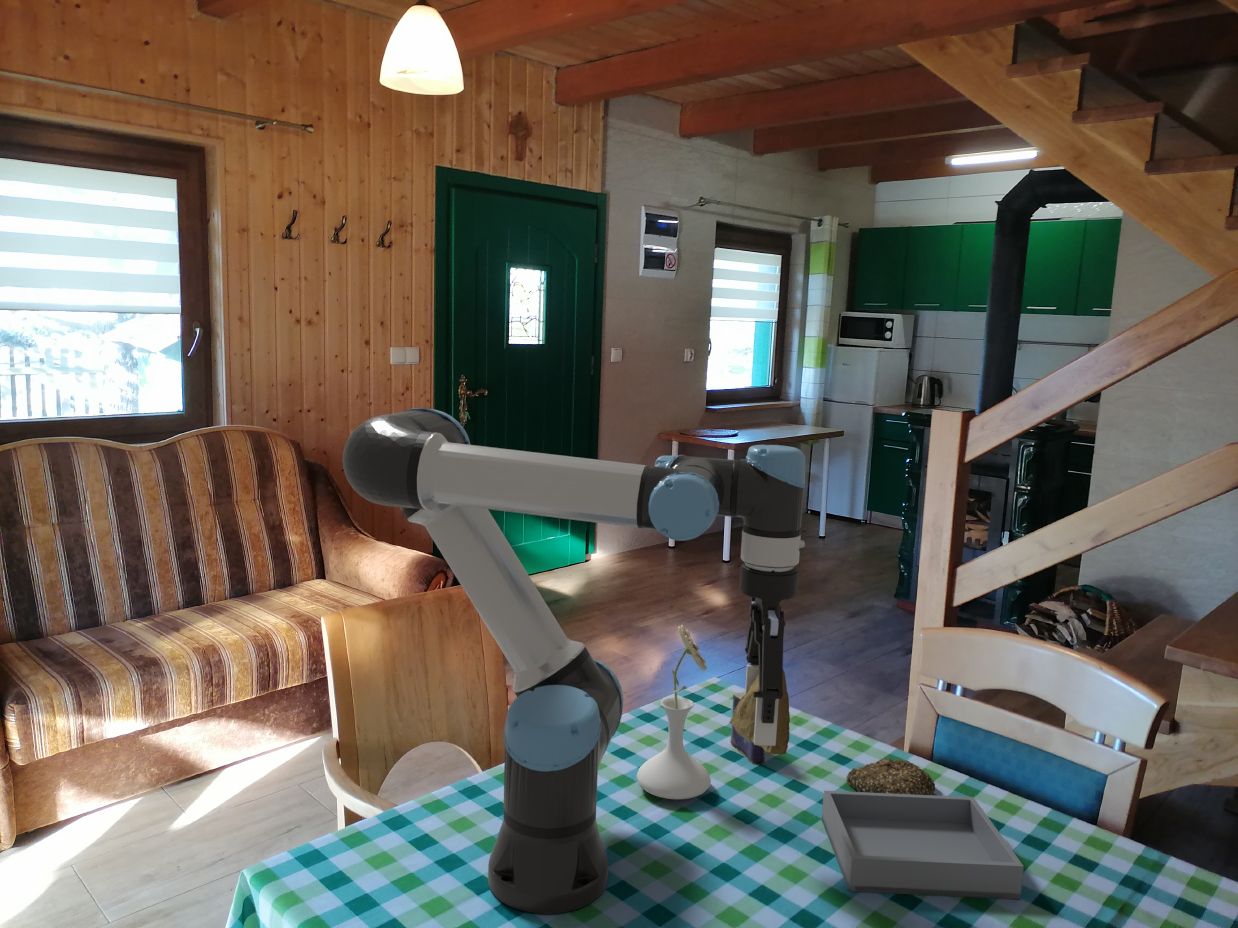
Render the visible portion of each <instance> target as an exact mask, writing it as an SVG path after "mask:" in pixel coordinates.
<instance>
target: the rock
mask: <svg viewBox="0 0 1238 928" xmlns="http://www.w3.org/2000/svg"><path fill="white" fill-rule="evenodd" d="M785 674H786V673H785V670H784V669H783V681H782V692H783V696H782V699H779V703H778V717H777V732H776V746H768V745H757V746H760V747H762V748H763V749H764V752H766V753H768V754H770V755H779V756H781V755H783V756H785V755H786V754H787V750H788V748H789V741H790V722H791V717H790V705H789V704H790V703H789V701H790V698H789V693H788V687H787V681H786V675H785ZM772 689H774V688H772ZM758 691H759V675H758V676H757V677H756V678H755V680H754V681H753V683H752V684H751V686H750V687H749V689H748V691H747V693H746V694H745V693H744V694H745V695H744V696H743V697H742V698H741V700H740V701H739V703H738V705H737V707H736V708H735V710H734V713H733V712H732V715H733V717H731V719H730V721H728V723H729V724H730V725H732V724H733V726H734V727H735V730H736V731H737V733H738V734H740V735H741V736H743V737H744V738H746V739H747V740H749V741H751V742H753V743H754V729H755V713H756V697H753V693H754V692H758Z"/></svg>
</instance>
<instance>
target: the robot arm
mask: <svg viewBox="0 0 1238 928" xmlns="http://www.w3.org/2000/svg"><path fill="white" fill-rule="evenodd" d="M806 459H807V458H806V456H805V454H804V452H803V451H802V450H801V449H799V448H797V447H794V446H788V445H779V444H756V445H751V446H750V447H749V448H748V450H747V455H746V456H745V459H744V458H740V459H729V458H728V459H727V458H713V457H703V456H702V457H701V456H692V455H691V456H688V455H687V454H679V455H661V456H659V457H657V459H656V460H655V462H654V465H653V466H652V465H646V464H645V465H644V464H638V463H629V462H627V463H626V462H621V461H611V460H602V459H595V458H585V457H578V456H577V457H576V456H569V455H560V454H552V453H551V454H550V453H545V452H544V453H543V452H535V451H534V452H532V451H526V450H517V449H507V448H502V447H501V448H499V447H492V446H491V447H490V446H484V445H483V446H482V445H476V444H475V445H474V444H471V442H470V438H469V435H468V433H467V432H466V430H465V428H464V427H463V426H462V424H461V423H460V422H459V421H458V420H456V418H454V417H453V416H451V415H450V414H448V413H446V412H445V411H441V410H437V409H431V408H427V407H426V408H425V407H417V408H409V409H405V410H403V411H401V412H396V413H395V412H394V413H389V414H383V415H381V414H380V415H378V416H374V417H371V418H368V419H367V420H365V421H364V422H362V423H361V424H359V425H358V426H357V427H356V428H355V429H354V430H353V431H352V432H351V434H350V436H348V439H347V440H346V443H345V446H344V449H343V452H342V467H343V468H342V469H343V472H344V475H345V477H346V481H348V484H349V485H350V486H351V488H352V489H353V490H354V492H356V493H357V494H358V495H359V496H360V497H361V498H363V499H364V500H366V501H368V502H371V503H372V504H377V505H381V506H385V507H386V506H387V507H397V508H398V507H399V508H400V510H401V512H402V513H403V515H404V517H405V518H406V520H407V521H408V522H409V523H414V524H418V525H421V526H423V527H424V528H425V529H426V530H427V533H428V534H429V536H430V537H431V539H432V540H433V542H434V544H435V545H436V547H437V549H438V551H440V554H441V555H442V557H443V558H444V560H445V561H446V563H447V565H448V566H449V569H451V571H452V573H453V575H454V576H455V578H456V579H457V581H458V583H459V584H460V586H461V587H462V589H463V590H464V592H465V594H466V596H467V597H468V598H469V600H470V602H471V603H472V605H473V607H474V608H475V610H476V612H477V613H478V615H479V617H481V620H482V621H483V623H484V625H485V626H486V628H487V629H488V631H489V632H490V634H491V636H492V637H493V639H494V640H495V642H496V644H497V645H498V647H499V648H500V650H501V652H502V653H503V655H504V657H505V658H506V660H507V662H508V663H509V665H510V667H511V668H512V670H513V671H514V681H513V684H512V691H513V692H514V694H515V696H516V698H515V699H514V700H513V701H512V702H511V704H510V705H509V707H508V709H507V713H506V719H505V723H504V728H503V732H504V733H503V743H504V767H503V768H504V771H503V772H504V773H503V774H504V776H503V777H504V779H503V819H502V823H501V827H500V829H499V832H498V834H497V837H496V839H495V842H494V845H493V848H492V851H491V853H490V856H489V859H488V868H487V883H488V888H489V889H490V891H491V893H492V894H493V895H494V896H495V897H496V898H497V899H498V900H499V901H501V902H502V903H504V904H505V905H507V906H508V907H511V908H514V909H516V910H519V911H523V912H526V913H533V914H545V915H546V914H561V913H568V912H572V911H575V910H578V909H581V908H584V907H585V906H588V905H590V904H591V903H593V902H594V901H595V900H597V899H598V898H599V897H600V896H601V895H602V893H604V891H605V889H606V887H607V884H608V876H609V875H608V873H609V864H608V863H609V862H608V856H607V853H606V850H605V847H604V844H603V841H602V837H601V833H600V830H599V827H598V823H597V798H598V776H599V775H598V774H599V768H600V765H601V761H602V759H603V757H604V756H605V753H606V751H607V748H608V746H609V745H610V742H611V740H612V738H613V737H614V736H615V734H616V732H617V731H618V729H619V726H620V724H621V720H622V716H623V710H624V694H623V693H624V692H623V688H622V686H621V683H620V680H619V679H618V677H617V676H616V674H615V673H614V671H613V670H612V669H611V668H610V667H609V666H608V665H606V664H605V663H603V662H602V661H600V660H596V659H594V658H593V657H592V655H591V653H590V652H589V650H588V648H587V646H586V645H585V644H584V643H583V642H580V641H576V640H572V639H569V638H568V637H567V635H566V633H565V632H564V630H563V629H562V627H561V625H560V624H559V622H558V621H557V619H556V617H555V616H554V614H553V612H552V610H551V609H550V608H549V606H548V605H547V603H546V602H545V600H544V598H543V597H542V594H541V593H540V591H539V590H538V588H537V586H536V585H535V583H534V582H533V580H532V578H531V577H530V575H529V574H528V572H527V570H526V569H525V567H524V566H523V564H522V562H521V561H520V559H519V557H518V556H517V554H516V553H515V550H514V549H513V547H512V546H511V544H510V543H509V541H508V539H507V538H506V536H505V534H504V533H503V531H502V530H501V528H500V526H499V525H498V523H497V522H496V519H494V517H493V515H492V513H491V511H490V510H493V511H501V512H510V513H516V514H523V515H524V514H526V515H532V516H540V517H551V518H557V519H565V520H574V521H582V522H591V523H598V524H605V525H613V526H623V527H629V528H637V529H644V530H651V531H657V532H658V533H660V534H661V535H662V536H664V537H666V538H668V539H671V540H673V541H690V540H694V539H696V538H699V537H700V536H701V535H703V534H704V533H705V532H706V531H707V530H708V529H709V528H710V527H711V526H712V525H713V523H714V522H715V521H716V518H717V517H731V518H743V524H742V531H741V545H740V548H741V549H740V560H741V561H743V563H742V564H741V565H740V566H739V567H740V568H739V569H740V571H739V585H738V586H739V587H738V589H739V590H740V592H741V593H742V594H744V595H745V596H746V597H750V605H749V617H748V625H747V634H746V645H745V648H744V651H745V654H746V661H747V662H746V663H747V664H746V674H745V689H744V690H745V691H744V694H746V693H747V691H748V689H749V687H750V686H751V684H752V683H753V681H754V680H755V678H756V677H757V676H758V675H759V691H758V692H754V693H753V697H756V713H755V729H754V745H768V746H776V732H777V717H778V703H779V699H782V696H783V692H782V681H783V670H784V636H785V635H784V633H785V626H786V621H785V613H784V610H782V608H781V605H780V602H782V601H783V600H790V599H793V598H795V597H796V596H797V594H798V589H799V588H798V586H799V572H800V571H799V569H798V567H796V566H797V565H798V564H799V563H800V549H803V548H805V547H806V543H805V541H804V540H801V535H802V524H803V514H804V501H805V492H806V491H805V490H806ZM772 688H774V689H772Z"/></svg>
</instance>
